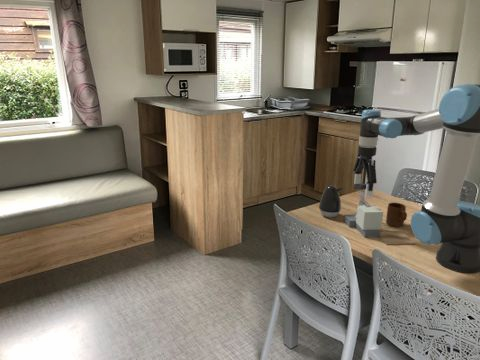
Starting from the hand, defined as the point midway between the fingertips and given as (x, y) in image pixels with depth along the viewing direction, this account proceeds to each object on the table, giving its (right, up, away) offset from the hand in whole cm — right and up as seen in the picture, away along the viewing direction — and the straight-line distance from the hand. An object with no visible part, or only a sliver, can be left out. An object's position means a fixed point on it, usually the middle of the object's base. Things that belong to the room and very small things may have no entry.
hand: (362, 192), depth 171 cm
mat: (+10, -19, -10) cm, 24 cm away
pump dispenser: (-12, -12, +14) cm, 21 cm away
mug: (+16, -16, +2) cm, 23 cm away
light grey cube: (+1, -14, -6) cm, 16 cm away
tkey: (0, -12, 0) cm, 12 cm away
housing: (0, -16, -1) cm, 16 cm away
